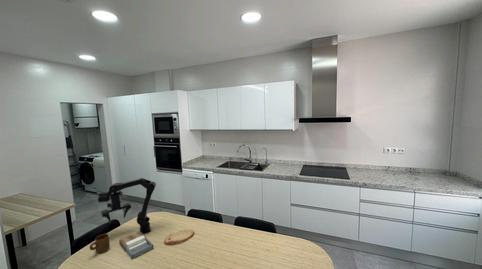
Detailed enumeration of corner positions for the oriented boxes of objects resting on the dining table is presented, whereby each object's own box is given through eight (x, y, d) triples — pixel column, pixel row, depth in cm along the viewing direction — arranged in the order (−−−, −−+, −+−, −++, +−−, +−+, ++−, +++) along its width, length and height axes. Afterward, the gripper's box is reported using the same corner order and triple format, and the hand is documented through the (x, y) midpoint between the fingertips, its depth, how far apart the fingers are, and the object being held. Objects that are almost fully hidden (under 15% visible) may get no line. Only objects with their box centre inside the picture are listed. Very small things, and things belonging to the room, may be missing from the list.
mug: (95, 259, 122) (94, 245, 121) (86, 257, 124) (85, 243, 123) (112, 247, 133) (111, 234, 133) (103, 245, 135) (102, 232, 135)
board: (140, 235, 147) (140, 231, 147) (146, 241, 139) (146, 237, 139) (119, 243, 137) (119, 239, 137) (125, 251, 129) (124, 247, 129)
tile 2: (144, 242, 137) (144, 239, 137) (146, 244, 135) (146, 241, 135) (127, 250, 129) (127, 247, 129) (129, 252, 127) (129, 249, 127)
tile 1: (143, 238, 138) (142, 235, 138) (145, 240, 136) (145, 237, 136) (126, 245, 130) (125, 242, 130) (128, 248, 128) (127, 245, 128)
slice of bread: (196, 232, 150) (195, 227, 150) (186, 247, 132) (185, 241, 132) (174, 230, 153) (174, 226, 153) (161, 245, 135) (161, 240, 135)
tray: (146, 241, 139) (146, 237, 139) (153, 248, 131) (153, 244, 131) (125, 251, 129) (125, 247, 129) (131, 259, 121) (131, 255, 121)
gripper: (126, 194, 157) (127, 212, 159) (98, 201, 144) (99, 222, 145) (130, 197, 150) (132, 217, 151) (101, 205, 136) (103, 227, 137)
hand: (117, 220), depth 146 cm, fingers open, 9 cm apart
